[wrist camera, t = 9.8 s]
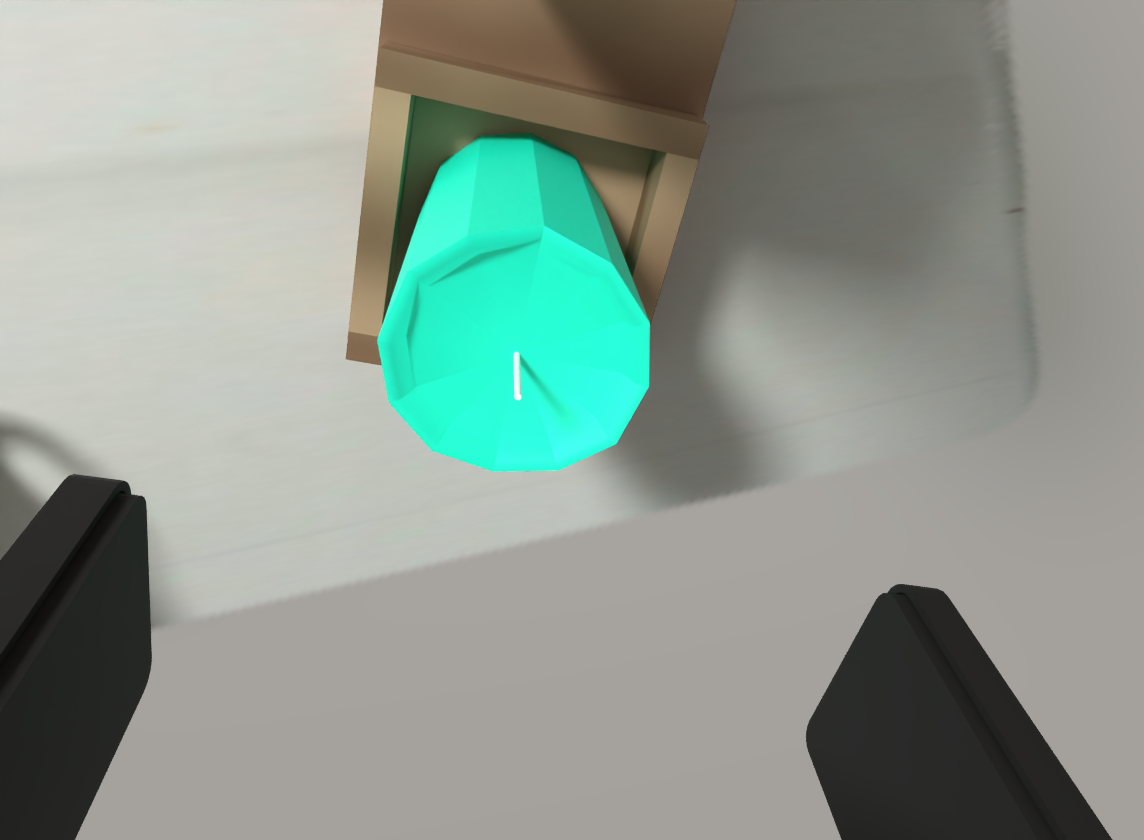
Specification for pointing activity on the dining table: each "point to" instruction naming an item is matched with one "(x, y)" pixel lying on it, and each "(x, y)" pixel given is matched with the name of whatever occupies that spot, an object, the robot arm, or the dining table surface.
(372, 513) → the dining table surface
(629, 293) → the candle
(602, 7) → the brown wooden stand
